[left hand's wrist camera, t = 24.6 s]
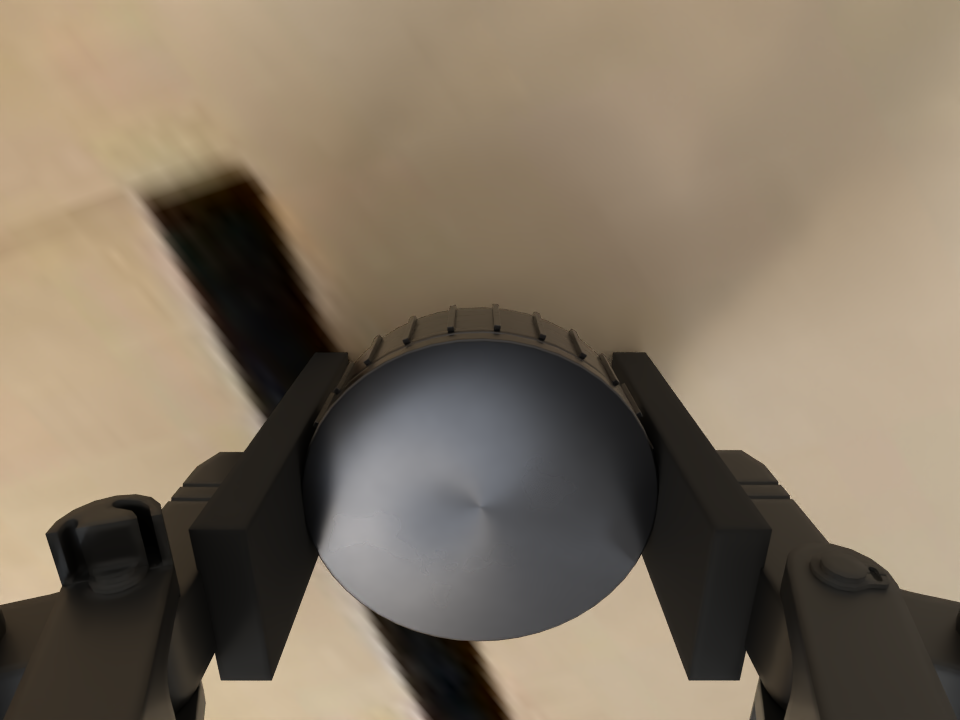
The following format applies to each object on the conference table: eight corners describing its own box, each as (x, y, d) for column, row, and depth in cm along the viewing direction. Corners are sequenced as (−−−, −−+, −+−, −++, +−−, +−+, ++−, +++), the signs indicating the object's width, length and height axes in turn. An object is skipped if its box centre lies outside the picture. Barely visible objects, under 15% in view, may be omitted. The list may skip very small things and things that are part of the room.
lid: (517, 232, 10) (524, 252, 9) (695, 482, 12) (729, 538, 11) (254, 424, 12) (218, 473, 10) (451, 623, 14) (447, 692, 12)
